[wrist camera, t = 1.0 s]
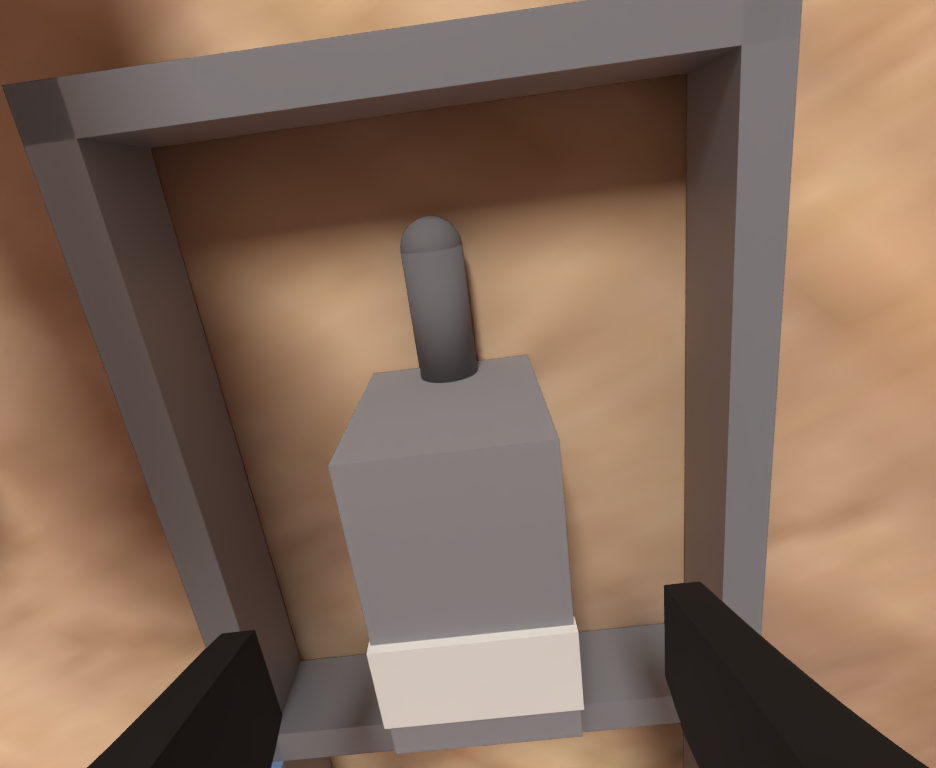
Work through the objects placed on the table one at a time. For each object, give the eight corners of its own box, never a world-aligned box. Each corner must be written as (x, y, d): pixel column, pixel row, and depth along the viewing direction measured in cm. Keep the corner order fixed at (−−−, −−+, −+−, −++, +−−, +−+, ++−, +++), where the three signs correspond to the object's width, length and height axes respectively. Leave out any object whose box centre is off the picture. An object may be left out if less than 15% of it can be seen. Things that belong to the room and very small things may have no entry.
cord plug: (516, 203, 13) (547, 213, 8) (550, 578, 16) (586, 745, 12) (342, 226, 13) (268, 249, 8) (414, 593, 17) (392, 763, 12)
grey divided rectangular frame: (735, 13, 12) (920, -107, 7) (706, 963, 23) (768, 1164, 18) (91, 105, 12) (-146, 52, 7) (373, 990, 23) (350, 1192, 19)
